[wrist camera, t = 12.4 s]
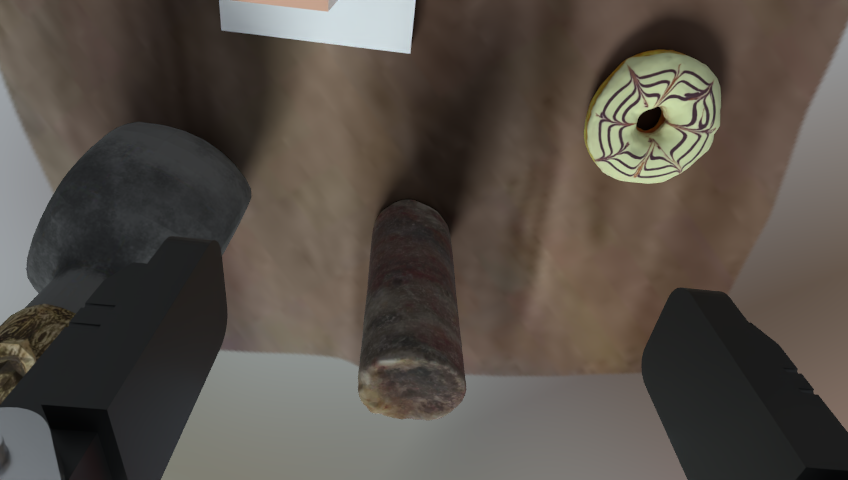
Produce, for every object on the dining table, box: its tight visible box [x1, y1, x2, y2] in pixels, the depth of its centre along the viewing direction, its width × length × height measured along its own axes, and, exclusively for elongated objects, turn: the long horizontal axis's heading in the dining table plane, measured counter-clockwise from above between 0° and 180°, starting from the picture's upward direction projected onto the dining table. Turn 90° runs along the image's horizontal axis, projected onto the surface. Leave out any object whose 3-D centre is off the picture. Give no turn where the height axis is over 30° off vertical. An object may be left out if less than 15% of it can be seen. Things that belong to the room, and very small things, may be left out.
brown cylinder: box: [358, 199, 466, 420], centre depth 43 cm, size 8×7×20 cm
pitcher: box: [0, 122, 251, 404], centre depth 36 cm, size 11×19×30 cm, turn 145°
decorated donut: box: [584, 49, 721, 184], centre depth 44 cm, size 10×11×4 cm
